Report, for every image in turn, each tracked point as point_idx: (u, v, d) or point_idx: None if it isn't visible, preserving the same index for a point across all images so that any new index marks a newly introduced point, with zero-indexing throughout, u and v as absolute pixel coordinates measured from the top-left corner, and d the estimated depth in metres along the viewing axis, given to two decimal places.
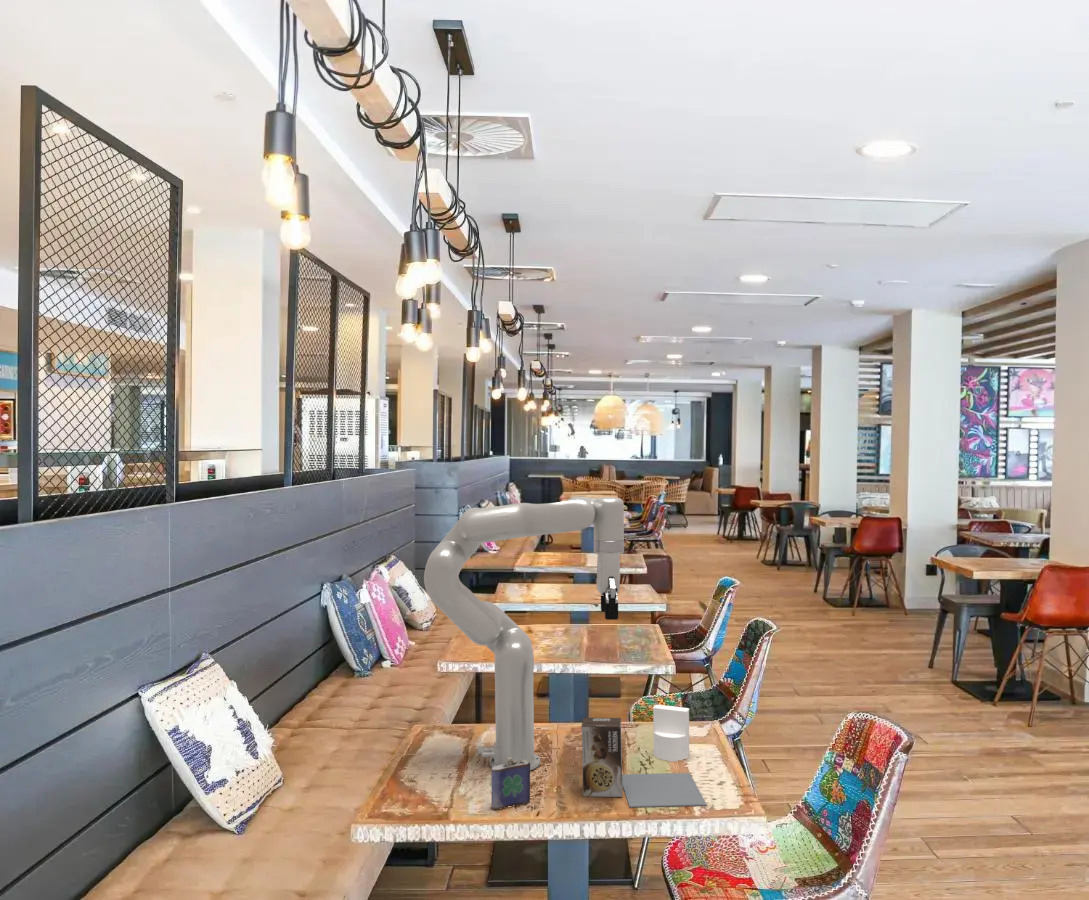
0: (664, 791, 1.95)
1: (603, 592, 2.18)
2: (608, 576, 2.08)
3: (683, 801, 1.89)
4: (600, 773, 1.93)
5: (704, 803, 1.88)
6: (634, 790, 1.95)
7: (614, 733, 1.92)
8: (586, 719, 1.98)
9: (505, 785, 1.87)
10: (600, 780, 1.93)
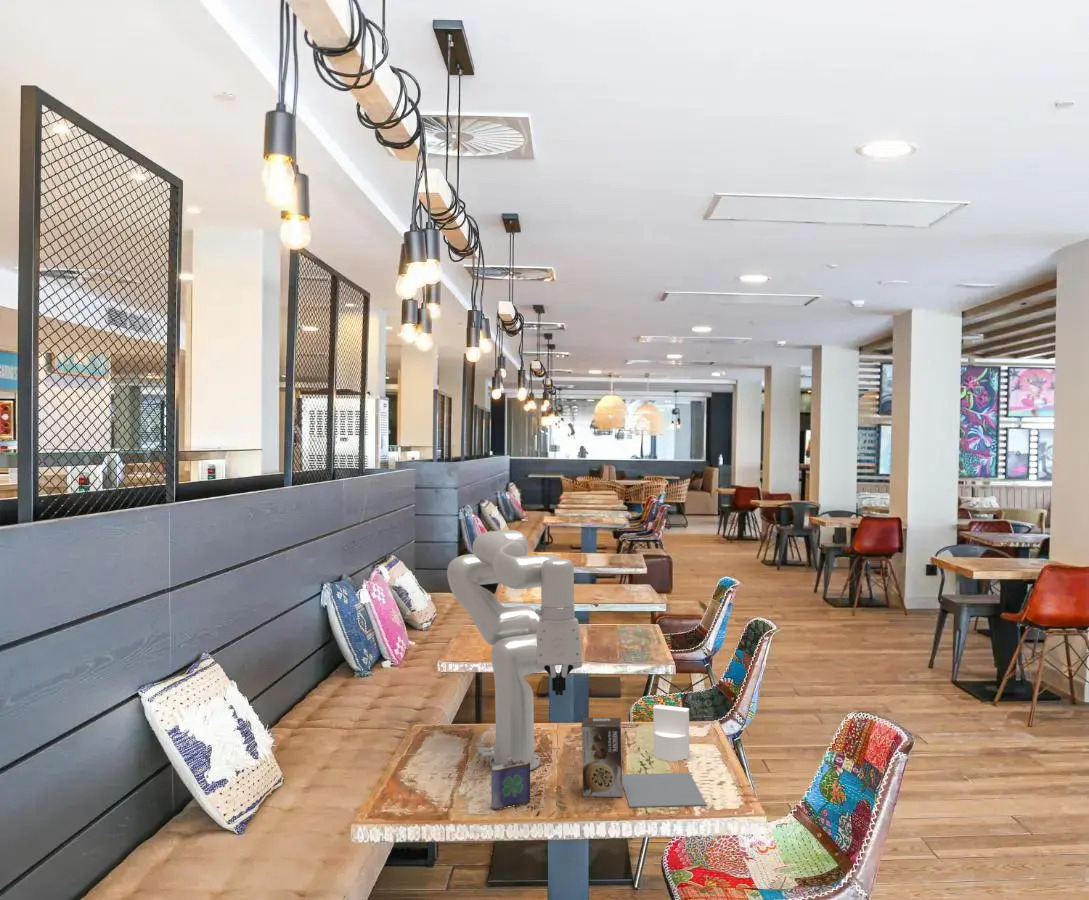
0: (664, 791, 1.95)
1: (555, 670, 1.94)
2: None
3: (683, 801, 1.89)
4: (600, 773, 1.93)
5: (704, 803, 1.88)
6: (634, 790, 1.95)
7: (614, 733, 1.92)
8: (586, 719, 1.98)
9: (505, 785, 1.87)
10: (600, 780, 1.93)
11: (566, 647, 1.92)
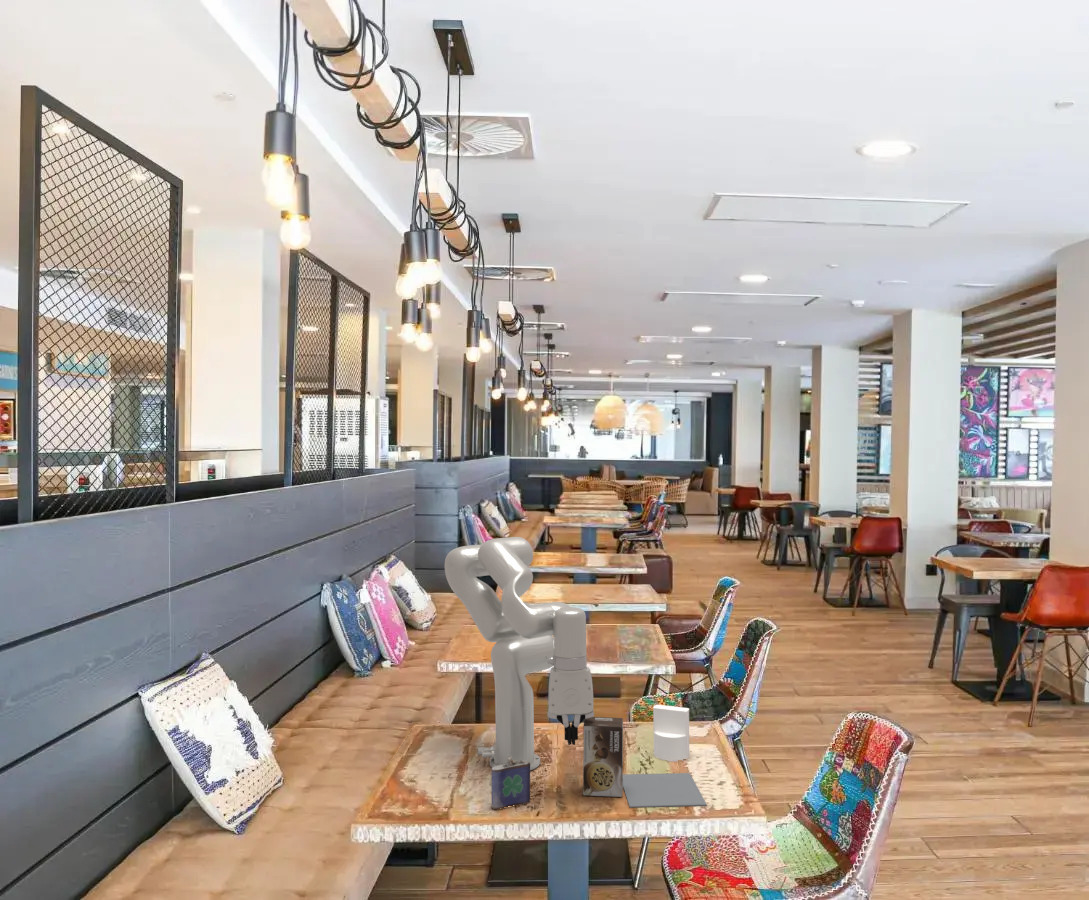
0: (664, 791, 1.95)
1: (567, 719, 1.94)
2: None
3: (683, 801, 1.89)
4: (601, 773, 1.93)
5: (704, 803, 1.88)
6: (634, 790, 1.95)
7: (616, 733, 1.92)
8: (588, 718, 1.98)
9: (505, 785, 1.87)
10: (601, 779, 1.93)
11: (578, 697, 1.92)
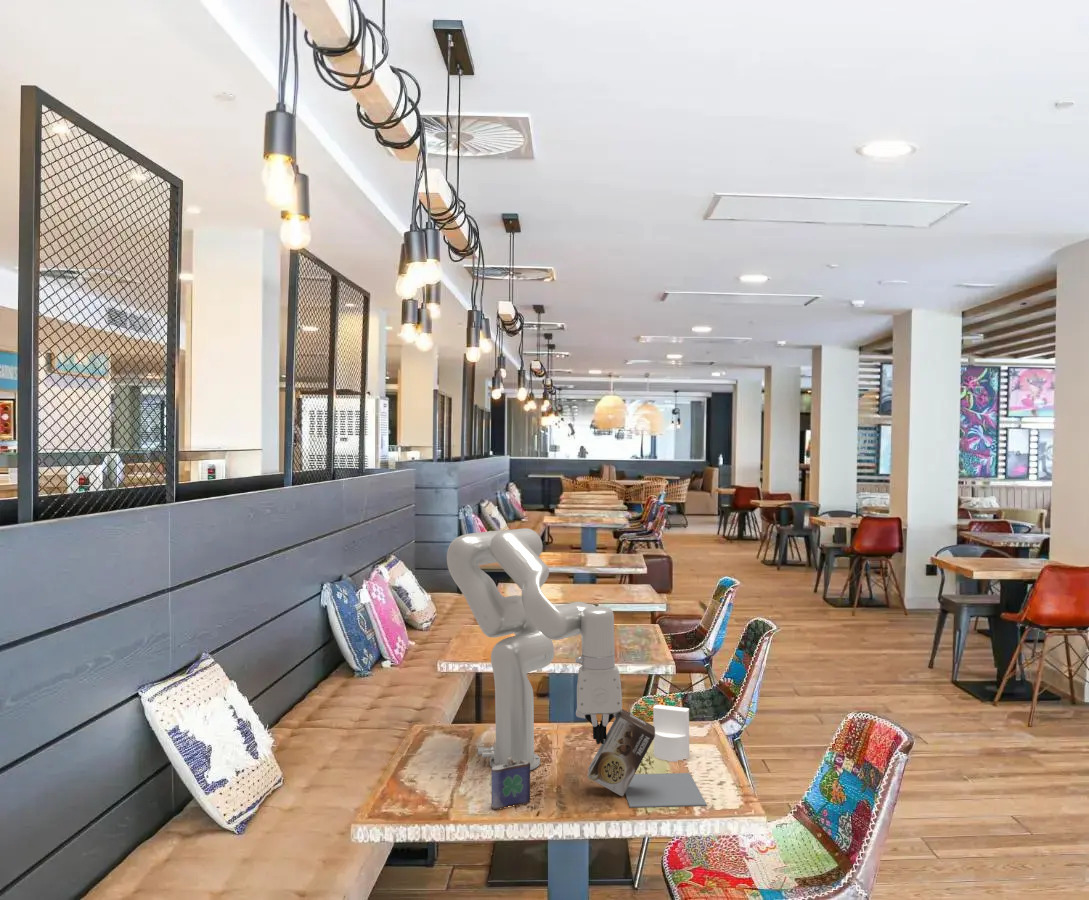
0: (664, 791, 1.95)
1: None
2: None
3: (683, 801, 1.89)
4: (614, 766, 1.92)
5: (704, 803, 1.88)
6: (634, 790, 1.95)
7: (646, 738, 1.92)
8: (624, 711, 1.97)
9: (505, 785, 1.87)
10: (611, 772, 1.92)
11: (607, 696, 1.93)
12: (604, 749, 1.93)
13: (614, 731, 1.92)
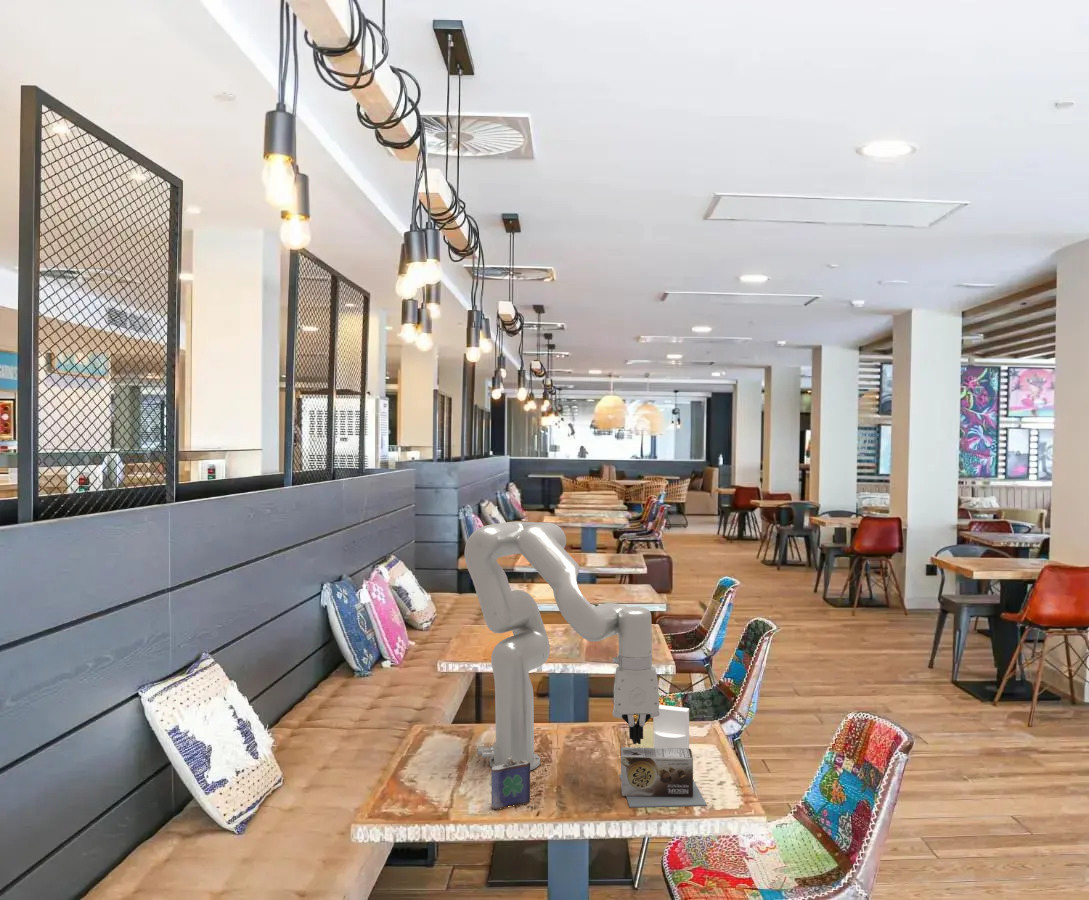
0: None
1: (633, 719, 1.95)
2: None
3: (683, 801, 1.89)
4: (645, 775, 1.92)
5: (704, 803, 1.88)
6: None
7: (686, 790, 1.91)
8: None
9: (505, 785, 1.87)
10: (639, 775, 1.92)
11: (644, 697, 1.93)
12: (655, 759, 1.92)
13: (676, 759, 1.91)
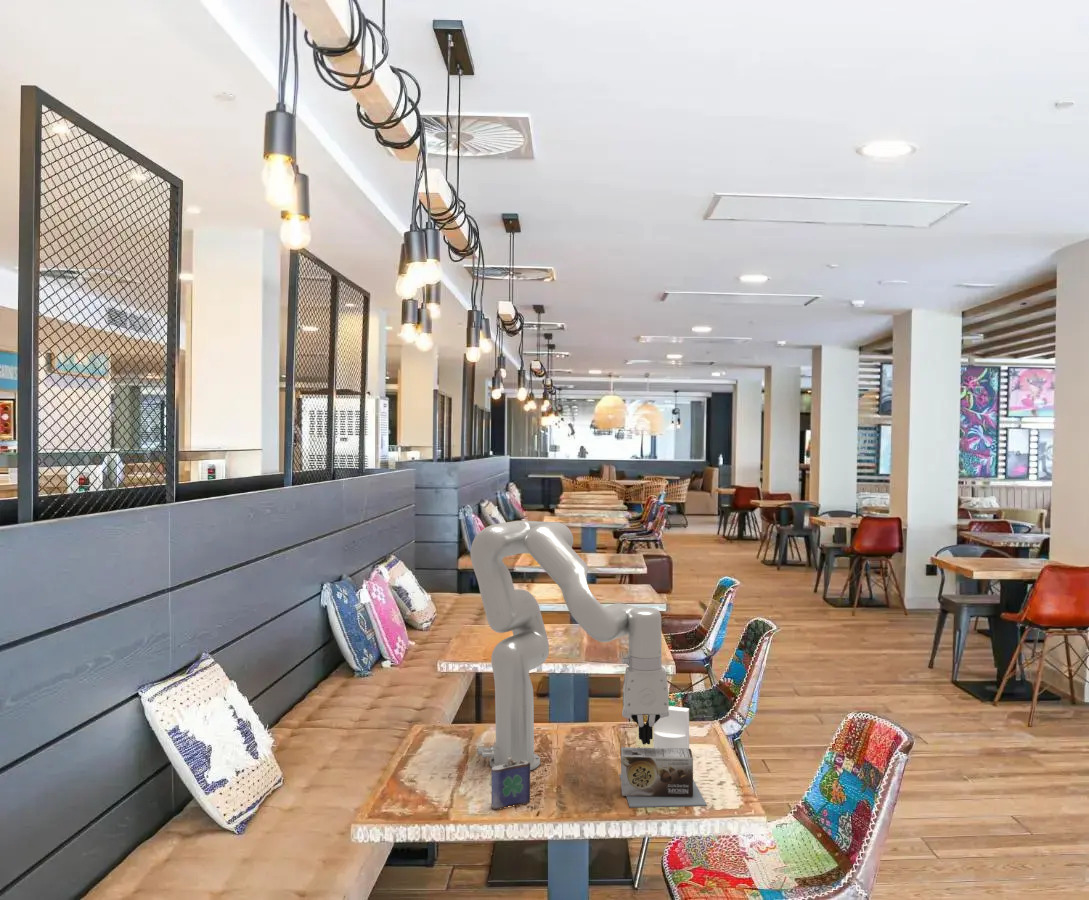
0: None
1: (642, 719, 1.95)
2: None
3: (683, 801, 1.89)
4: (645, 775, 1.92)
5: (704, 803, 1.88)
6: None
7: (686, 790, 1.91)
8: None
9: (505, 785, 1.87)
10: (639, 775, 1.92)
11: (654, 697, 1.93)
12: (655, 758, 1.92)
13: (676, 759, 1.91)
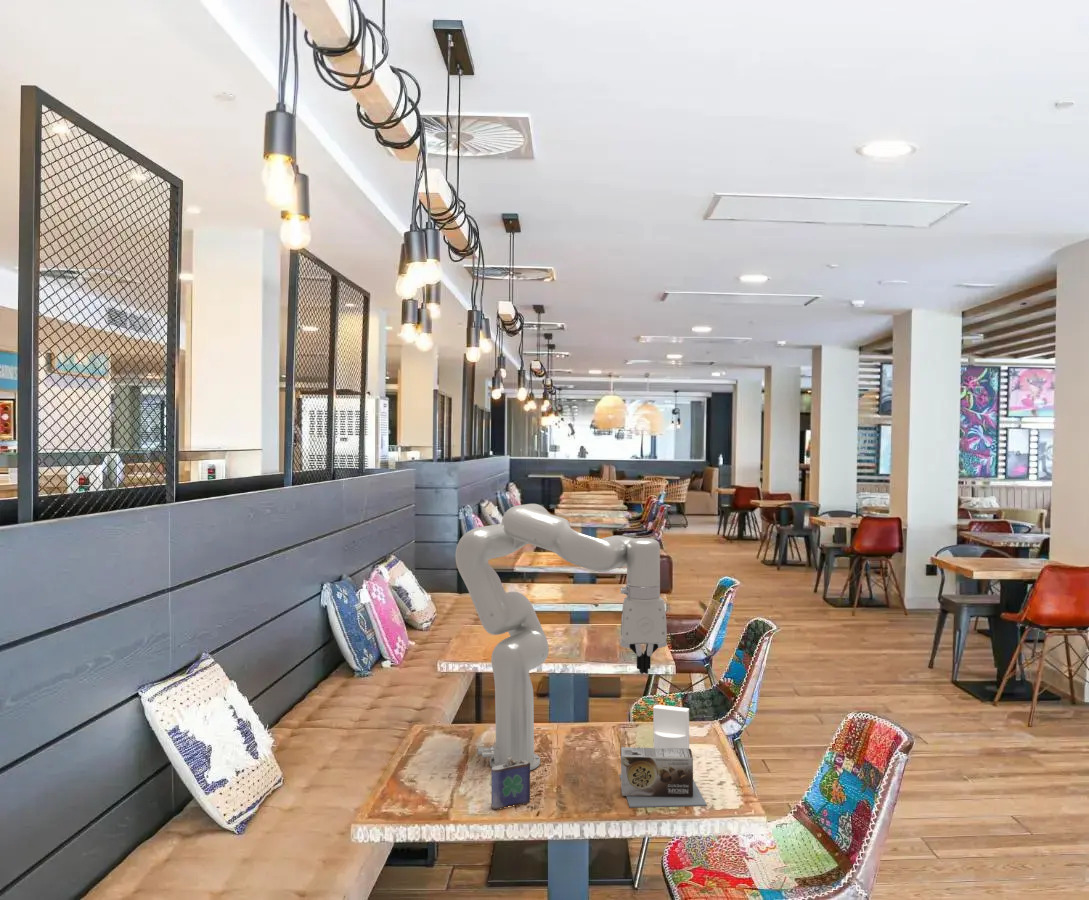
0: None
1: (640, 648, 1.95)
2: None
3: (683, 801, 1.89)
4: (645, 775, 1.92)
5: (704, 803, 1.88)
6: None
7: (686, 790, 1.91)
8: None
9: (505, 785, 1.87)
10: (639, 775, 1.92)
11: (652, 626, 1.94)
12: (655, 758, 1.92)
13: (676, 759, 1.91)
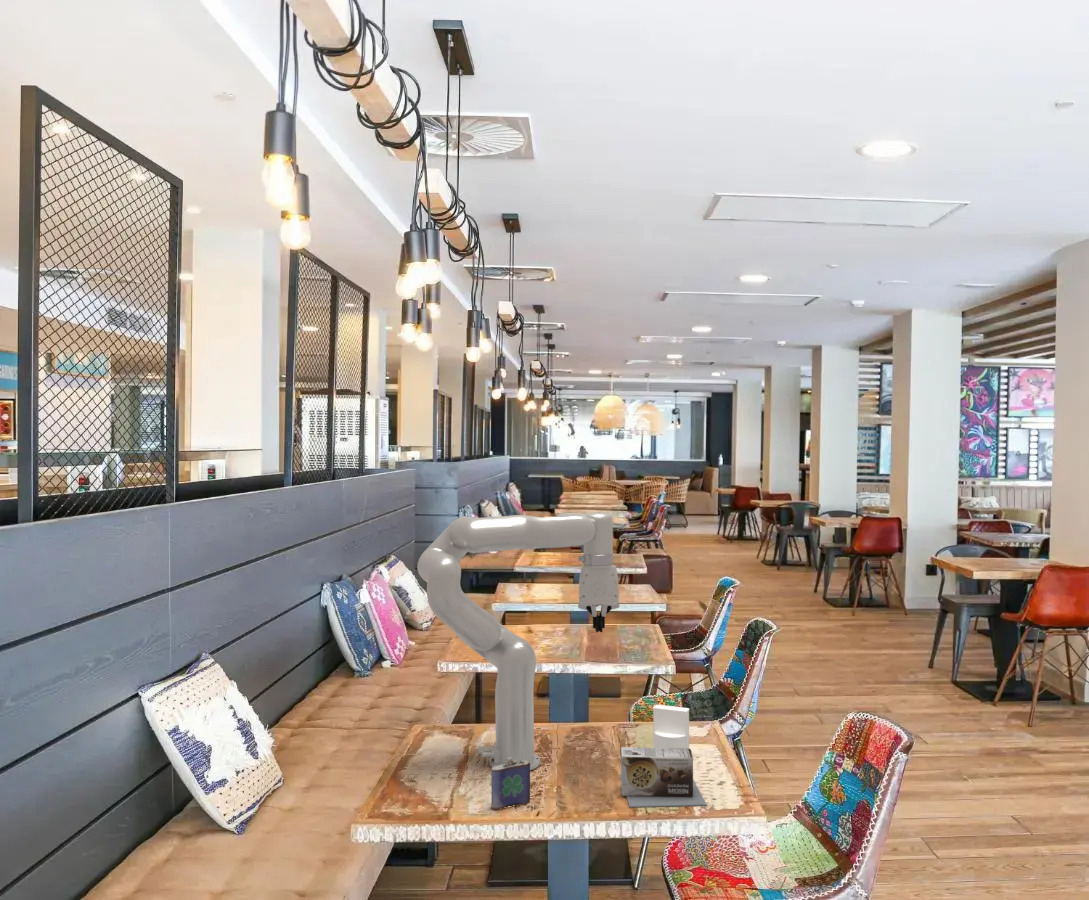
0: None
1: None
2: None
3: (683, 801, 1.89)
4: (645, 775, 1.92)
5: (704, 803, 1.88)
6: None
7: (686, 790, 1.91)
8: None
9: (505, 785, 1.87)
10: (639, 775, 1.92)
11: (606, 589, 2.19)
12: (655, 758, 1.92)
13: (676, 759, 1.91)
